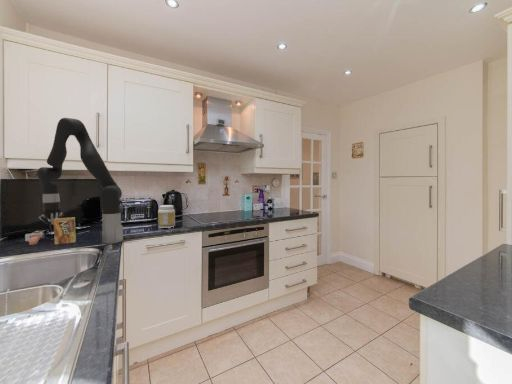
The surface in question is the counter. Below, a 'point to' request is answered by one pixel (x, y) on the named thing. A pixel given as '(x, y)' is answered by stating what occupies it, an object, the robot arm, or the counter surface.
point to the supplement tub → (166, 216)
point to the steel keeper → (28, 236)
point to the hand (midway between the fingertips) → (53, 230)
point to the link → (34, 239)
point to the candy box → (64, 230)
